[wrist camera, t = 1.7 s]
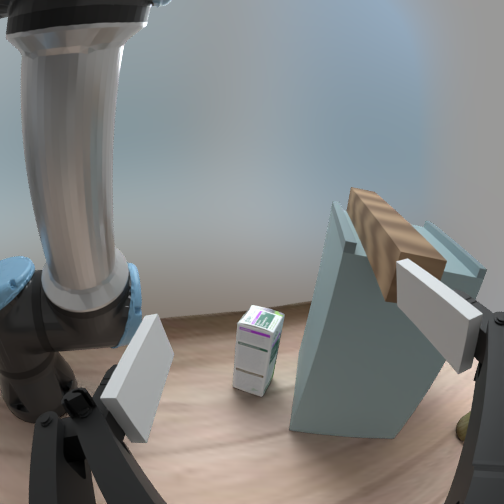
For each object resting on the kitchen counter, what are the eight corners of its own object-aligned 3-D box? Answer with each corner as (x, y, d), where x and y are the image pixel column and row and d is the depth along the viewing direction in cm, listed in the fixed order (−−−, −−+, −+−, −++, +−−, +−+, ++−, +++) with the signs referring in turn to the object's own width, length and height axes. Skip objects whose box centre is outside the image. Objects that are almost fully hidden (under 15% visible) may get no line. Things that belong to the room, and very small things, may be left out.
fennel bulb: (464, 448, 33) (502, 404, 28) (447, 434, 37) (482, 389, 32) (476, 432, 36) (511, 388, 31) (460, 419, 40) (492, 374, 35)
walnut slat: (429, 308, 20) (447, 260, 18) (385, 301, 20) (400, 251, 19) (369, 215, 46) (374, 192, 45) (346, 211, 47) (350, 187, 45)
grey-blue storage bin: (289, 430, 40) (345, 240, 29) (298, 352, 59) (332, 201, 47) (393, 438, 38) (486, 269, 26) (380, 363, 56) (431, 222, 44)
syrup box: (262, 398, 47) (276, 333, 41) (230, 387, 48) (237, 321, 43) (273, 377, 52) (286, 313, 46) (243, 367, 53) (251, 303, 48)
